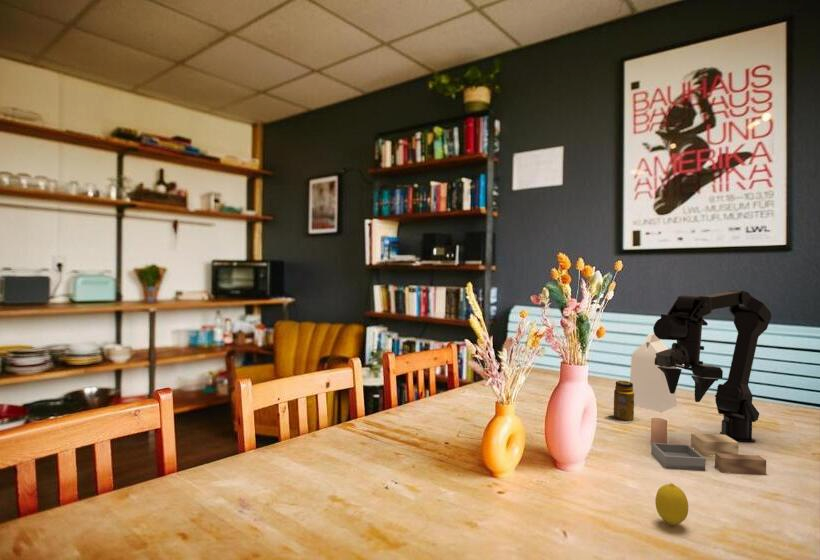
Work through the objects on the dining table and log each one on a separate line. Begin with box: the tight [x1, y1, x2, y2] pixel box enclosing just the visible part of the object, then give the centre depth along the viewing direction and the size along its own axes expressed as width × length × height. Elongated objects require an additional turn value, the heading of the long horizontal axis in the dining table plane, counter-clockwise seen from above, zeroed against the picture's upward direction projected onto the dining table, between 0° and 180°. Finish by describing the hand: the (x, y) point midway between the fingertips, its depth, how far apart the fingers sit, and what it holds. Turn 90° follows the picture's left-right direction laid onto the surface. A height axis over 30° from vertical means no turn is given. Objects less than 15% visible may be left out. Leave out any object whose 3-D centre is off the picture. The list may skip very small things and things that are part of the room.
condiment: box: [604, 380, 640, 425], centre depth 156 cm, size 7×8×12 cm
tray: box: [650, 442, 707, 472], centre depth 121 cm, size 9×9×3 cm
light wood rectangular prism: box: [690, 433, 740, 457], centre depth 128 cm, size 9×6×4 cm, turn 85°
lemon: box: [655, 482, 689, 526], centre depth 91 cm, size 6×6×8 cm
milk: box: [629, 332, 677, 413], centre depth 171 cm, size 12×12×26 cm
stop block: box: [714, 453, 767, 476], centre depth 116 cm, size 10×3×4 cm, turn 83°
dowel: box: [650, 417, 668, 444], centre depth 133 cm, size 4×4×7 cm
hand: (684, 397), depth 130 cm, fingers open, 9 cm apart
